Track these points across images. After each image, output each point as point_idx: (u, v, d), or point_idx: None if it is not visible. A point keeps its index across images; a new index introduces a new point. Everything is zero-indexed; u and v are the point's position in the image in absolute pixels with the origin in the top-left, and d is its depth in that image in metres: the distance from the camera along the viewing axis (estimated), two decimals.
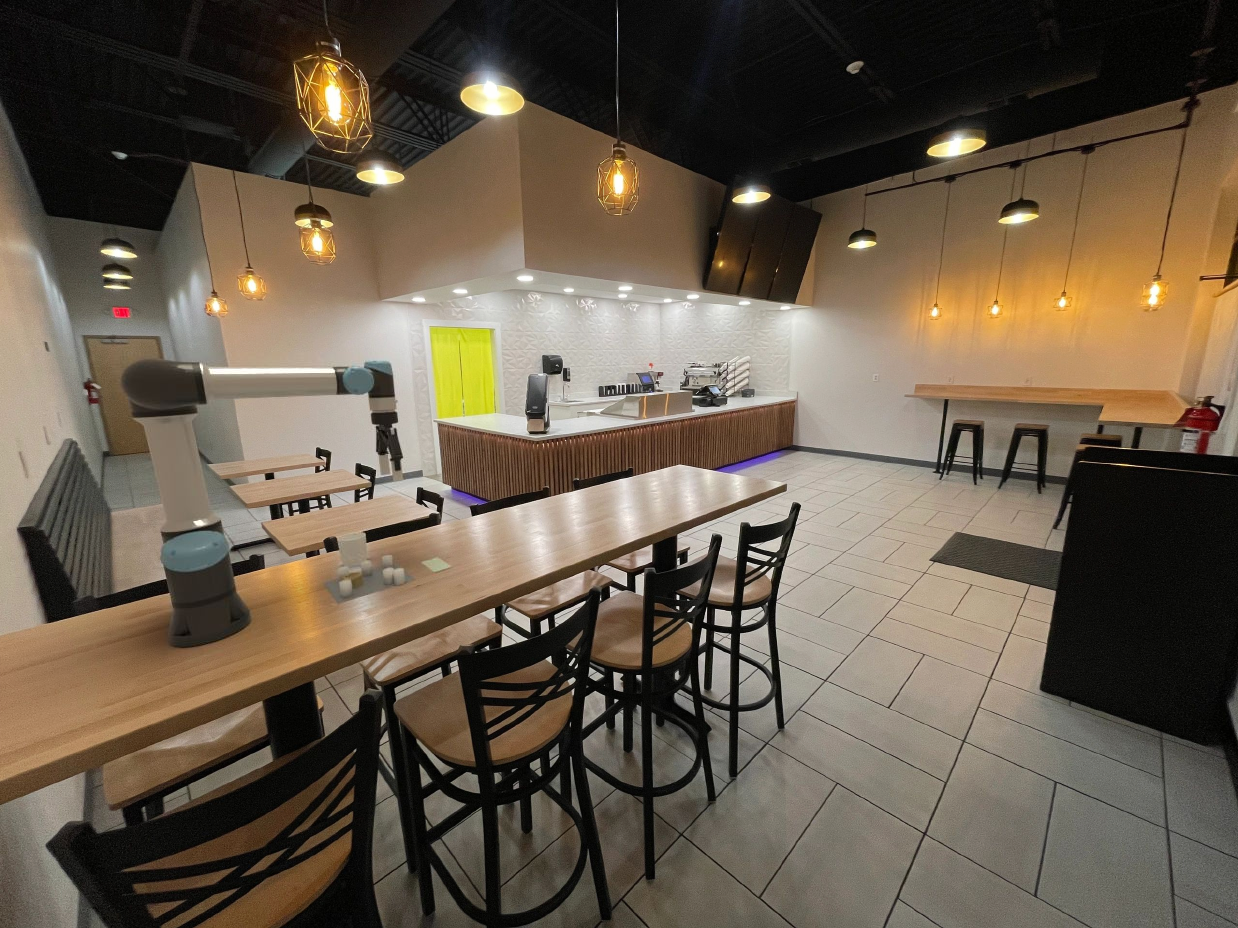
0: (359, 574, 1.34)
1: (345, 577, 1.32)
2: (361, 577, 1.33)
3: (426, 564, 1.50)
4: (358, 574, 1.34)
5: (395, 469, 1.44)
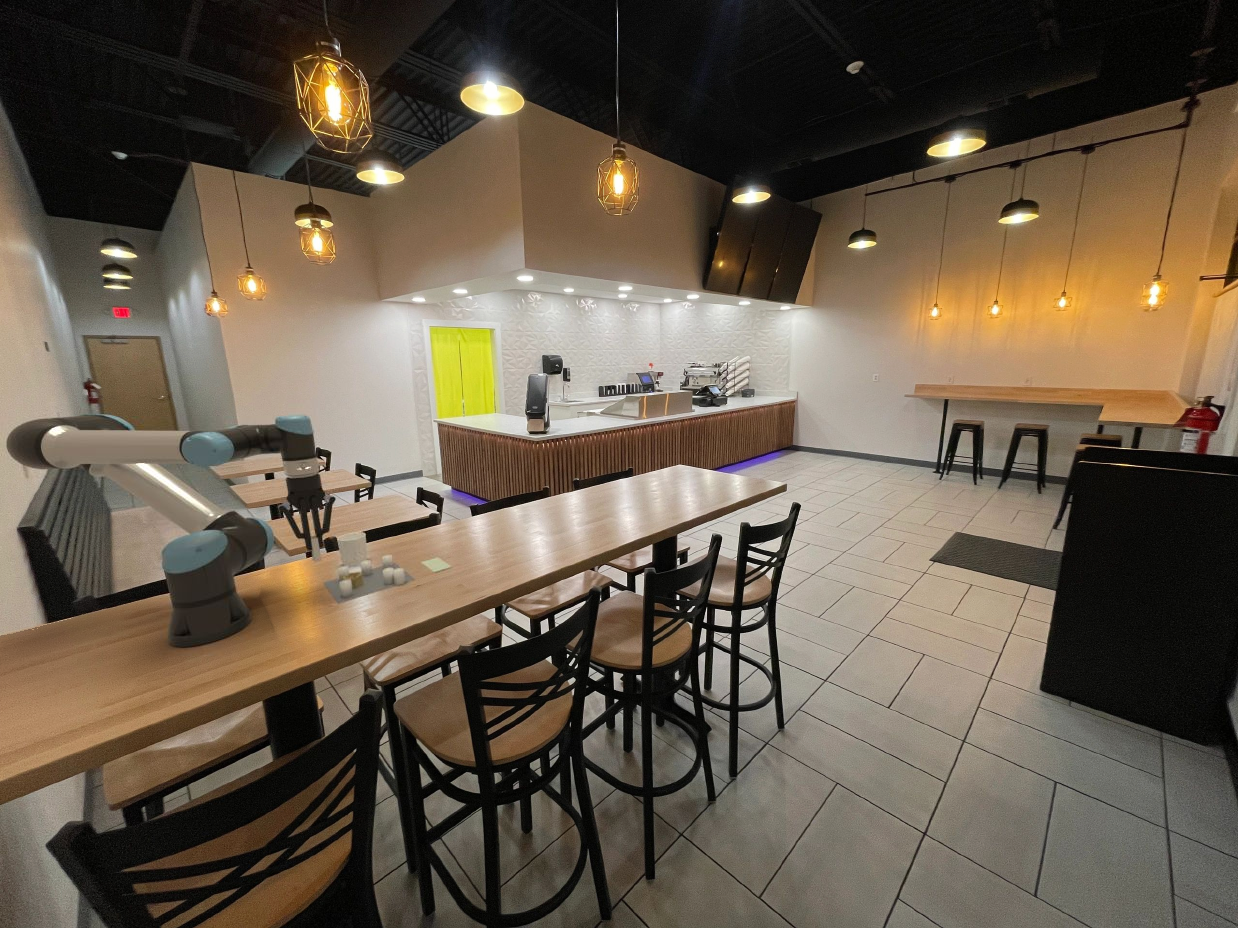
0: (359, 574, 1.34)
1: (345, 577, 1.32)
2: (361, 577, 1.33)
3: (426, 564, 1.50)
4: (358, 574, 1.34)
5: None
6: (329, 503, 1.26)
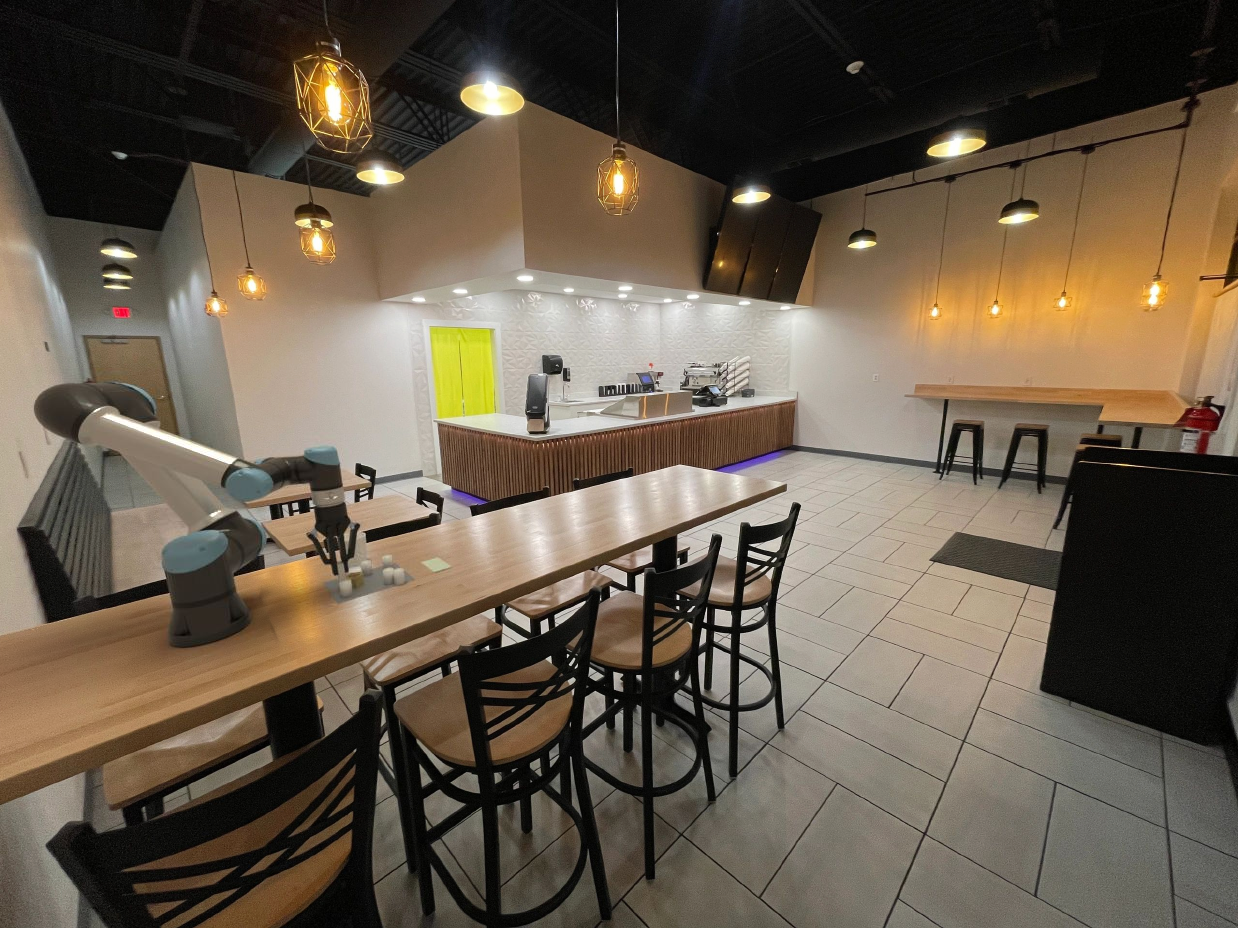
0: (360, 574, 1.34)
1: (346, 577, 1.32)
2: (362, 577, 1.33)
3: (426, 564, 1.50)
4: (359, 574, 1.34)
5: None
6: (354, 530, 1.31)
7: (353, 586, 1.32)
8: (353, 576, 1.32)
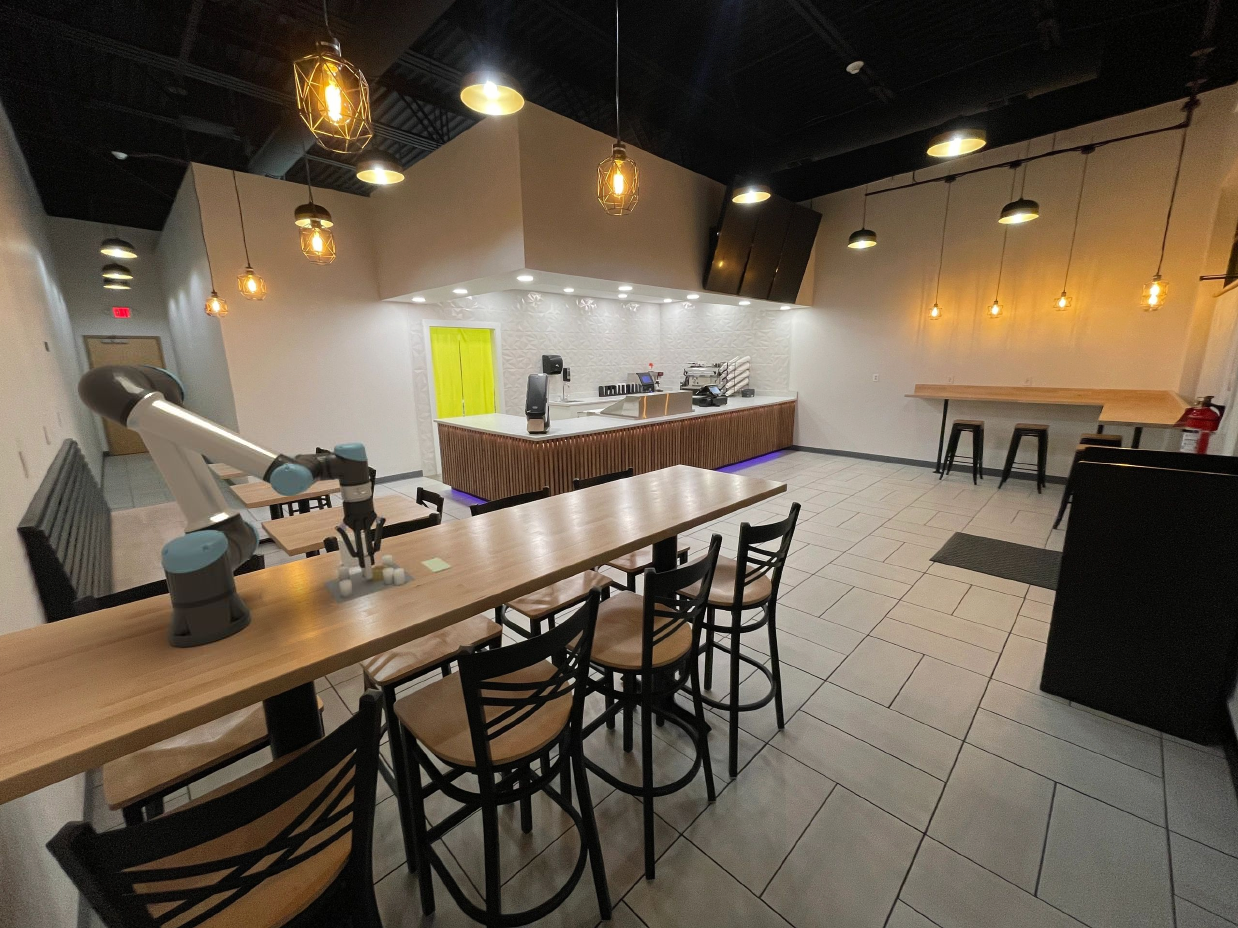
0: (385, 567, 1.38)
1: (372, 569, 1.37)
2: None
3: (426, 564, 1.50)
4: (384, 567, 1.38)
5: None
6: (380, 524, 1.35)
7: (379, 578, 1.36)
8: (379, 569, 1.37)
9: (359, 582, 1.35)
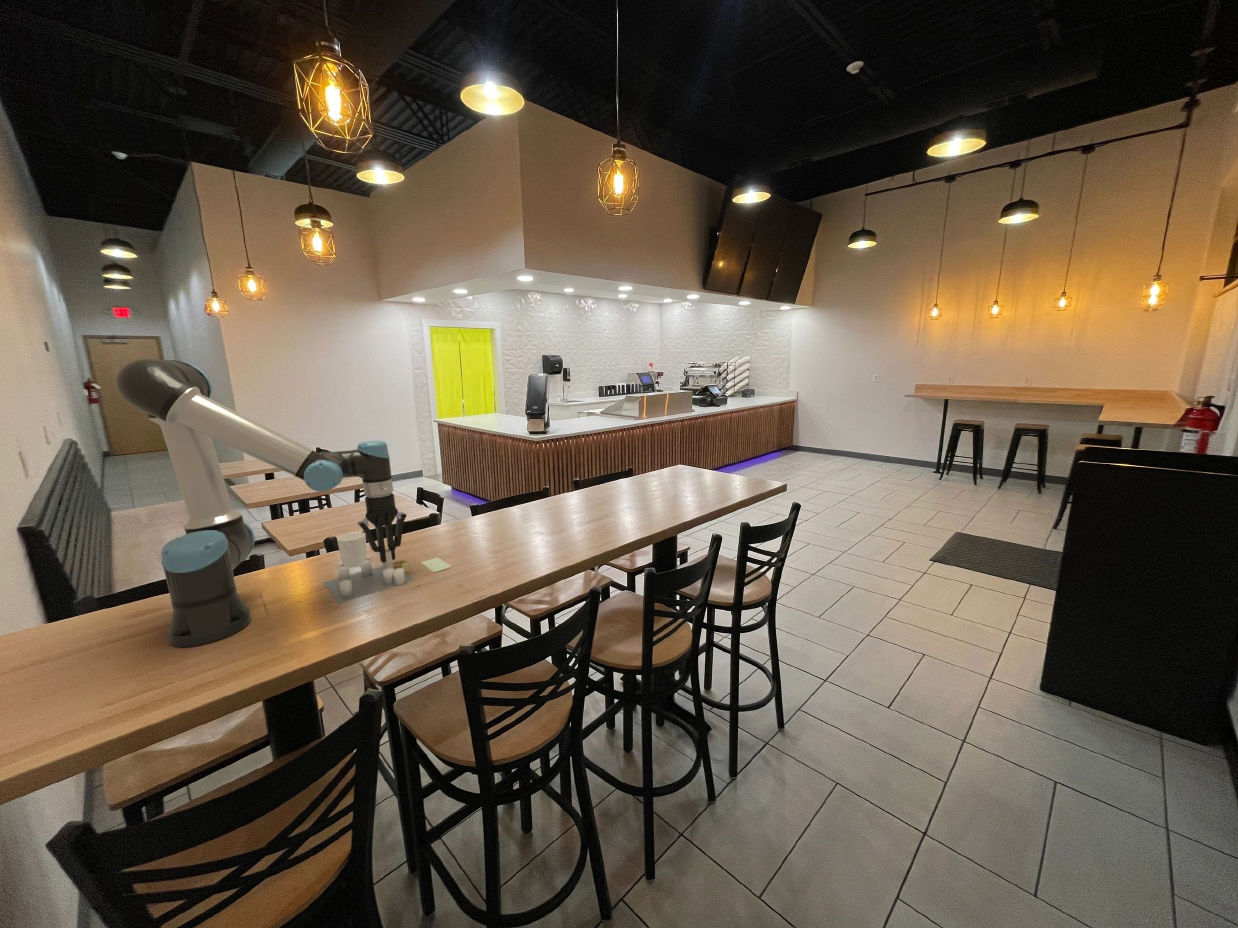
0: (405, 561, 1.42)
1: None
2: (407, 564, 1.42)
3: (426, 564, 1.50)
4: (404, 561, 1.42)
5: None
6: (401, 519, 1.39)
7: None
8: (399, 563, 1.41)
9: (359, 582, 1.35)
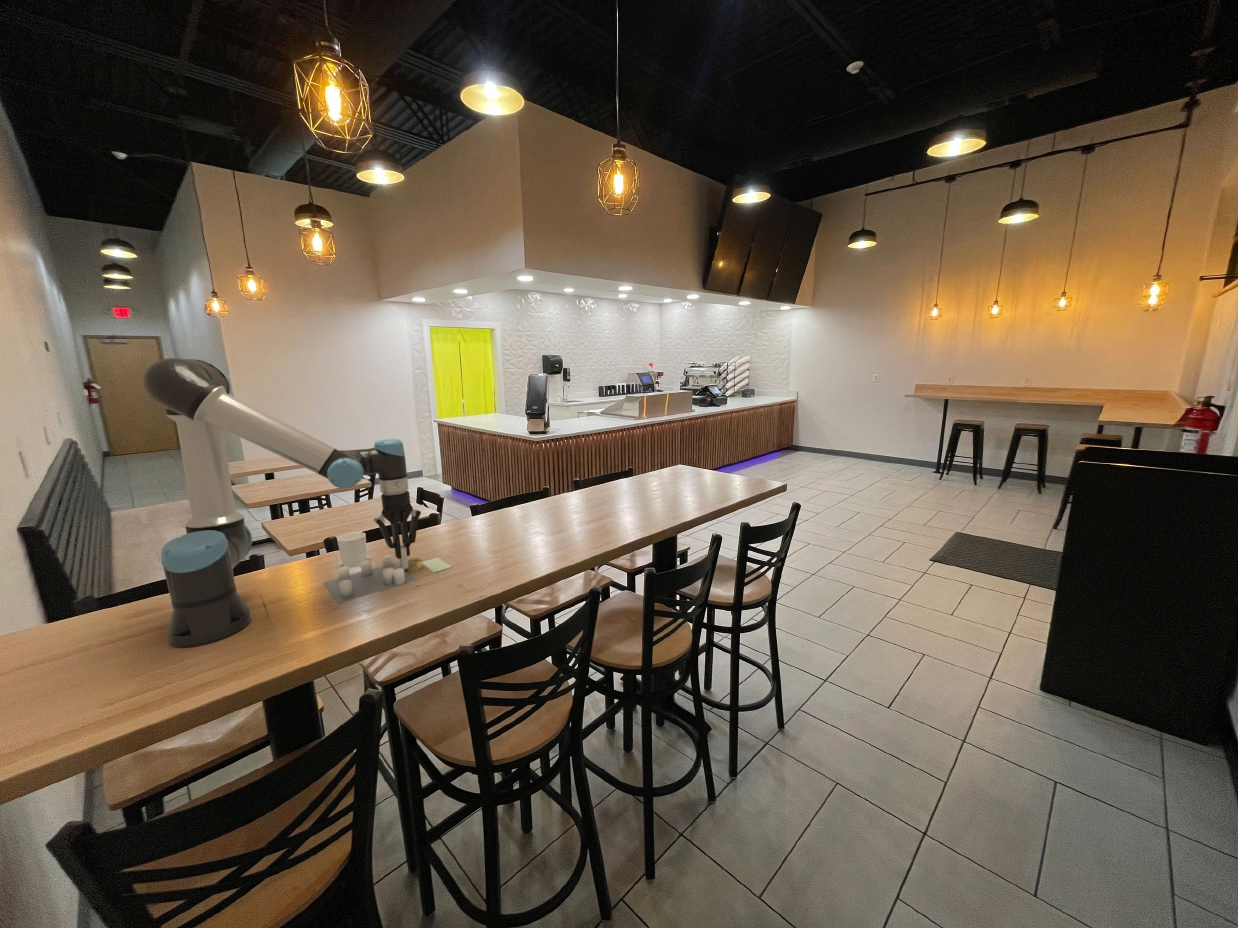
0: (419, 560, 1.45)
1: None
2: (421, 562, 1.45)
3: (426, 564, 1.50)
4: (418, 560, 1.45)
5: None
6: (416, 516, 1.42)
7: None
8: (414, 561, 1.44)
9: (359, 582, 1.35)
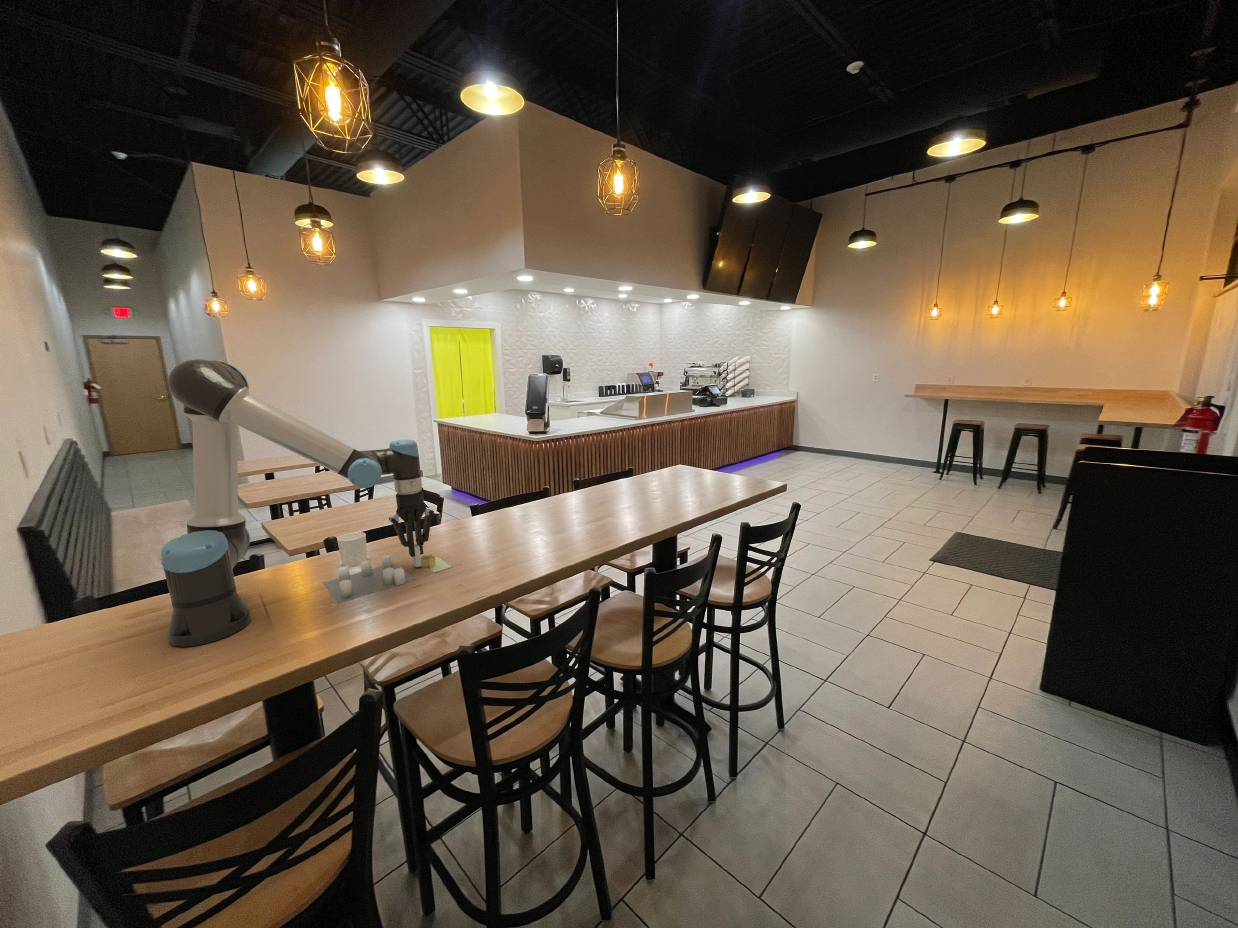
0: (432, 556, 1.48)
1: None
2: (434, 559, 1.48)
3: None
4: (431, 556, 1.48)
5: None
6: (429, 516, 1.45)
7: None
8: (426, 558, 1.47)
9: (359, 582, 1.35)
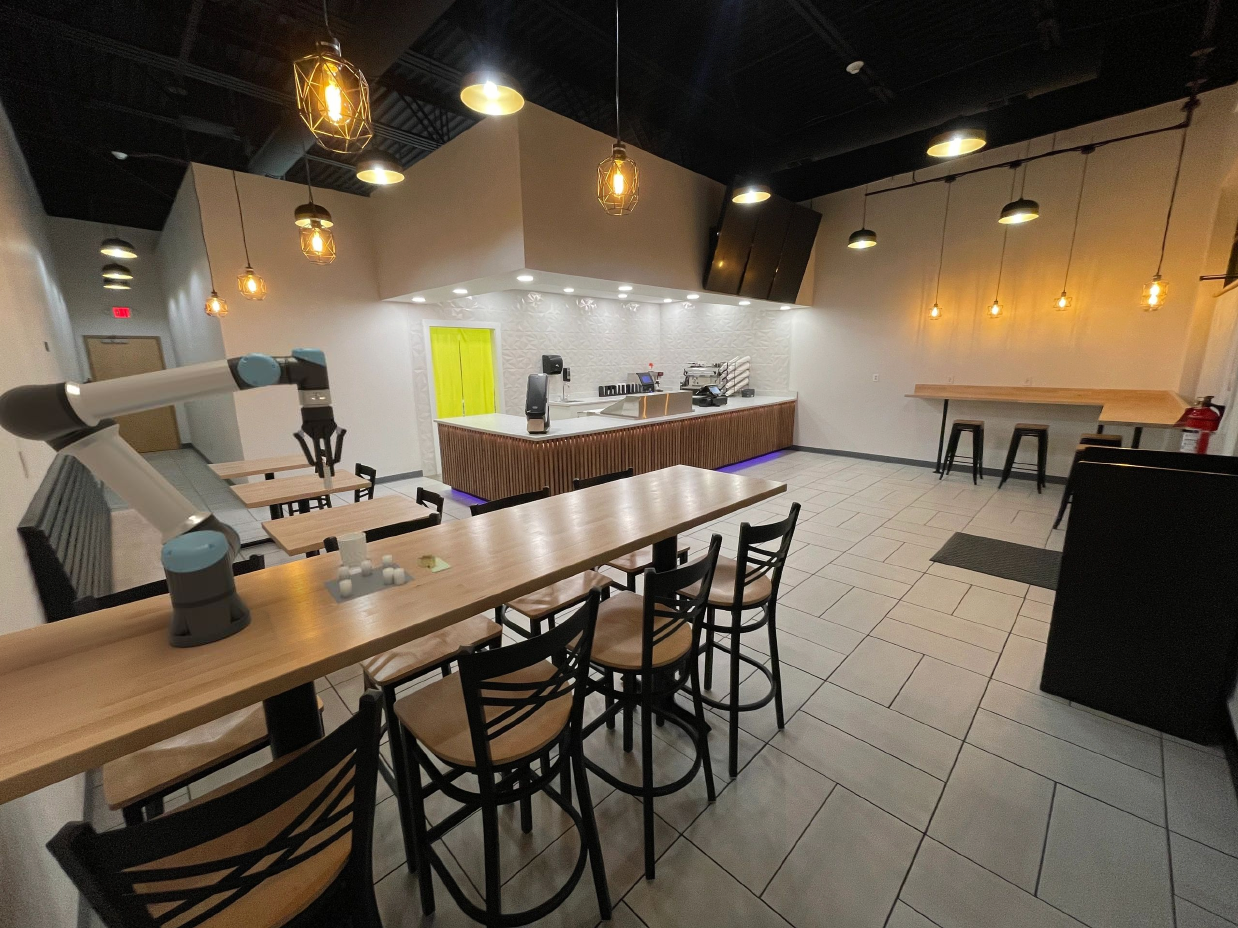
0: (432, 556, 1.48)
1: (420, 559, 1.46)
2: (434, 559, 1.48)
3: None
4: (431, 556, 1.48)
5: None
6: (340, 435, 1.34)
7: None
8: (426, 558, 1.47)
9: (359, 582, 1.35)
